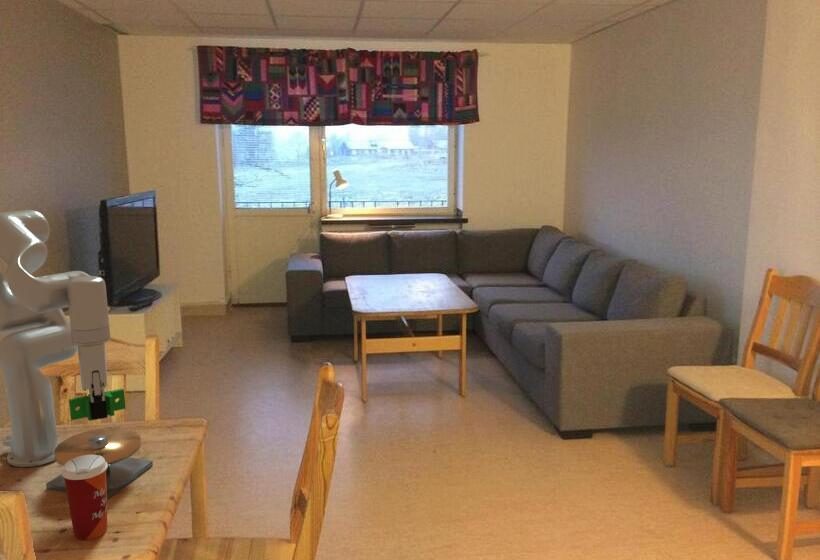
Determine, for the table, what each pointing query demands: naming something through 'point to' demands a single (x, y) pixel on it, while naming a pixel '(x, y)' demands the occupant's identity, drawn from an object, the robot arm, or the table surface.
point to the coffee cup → (87, 495)
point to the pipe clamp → (85, 401)
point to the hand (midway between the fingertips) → (98, 413)
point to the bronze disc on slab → (104, 456)
